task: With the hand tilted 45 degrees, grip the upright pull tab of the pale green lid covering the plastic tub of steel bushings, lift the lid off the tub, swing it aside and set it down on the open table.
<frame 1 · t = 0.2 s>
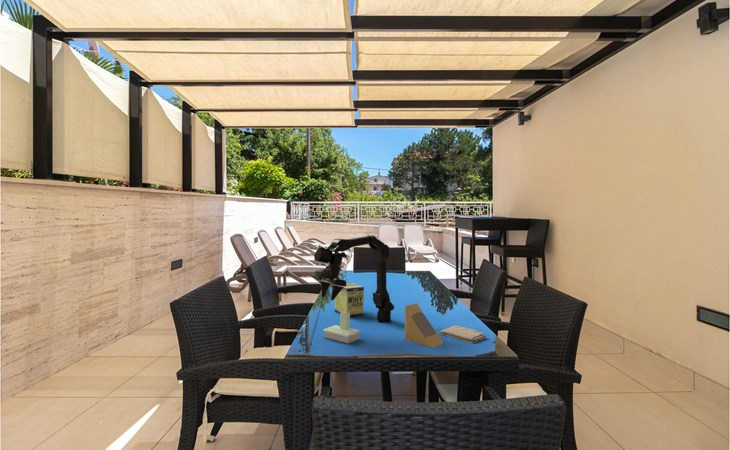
hand: (327, 298, 178), 15 cm above the table, tool pointing down, fingers open, 9 cm apart
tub: (341, 338, 169), on the table
washcloth: (462, 337, 175), on the table
protein box: (348, 313, 213), on the table
lid: (341, 331, 169), point 3 cm above the table, touching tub
sandwich container: (424, 342, 167), on the table
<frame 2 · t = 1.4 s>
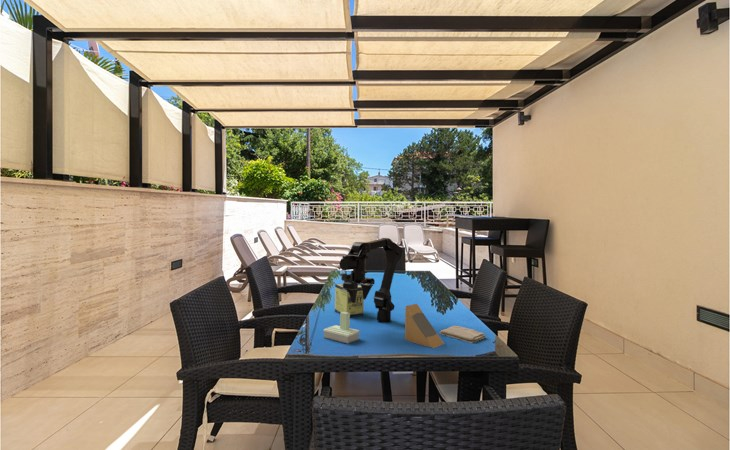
hand: (358, 301, 185), 13 cm above the table, tool pointing down, fingers open, 9 cm apart
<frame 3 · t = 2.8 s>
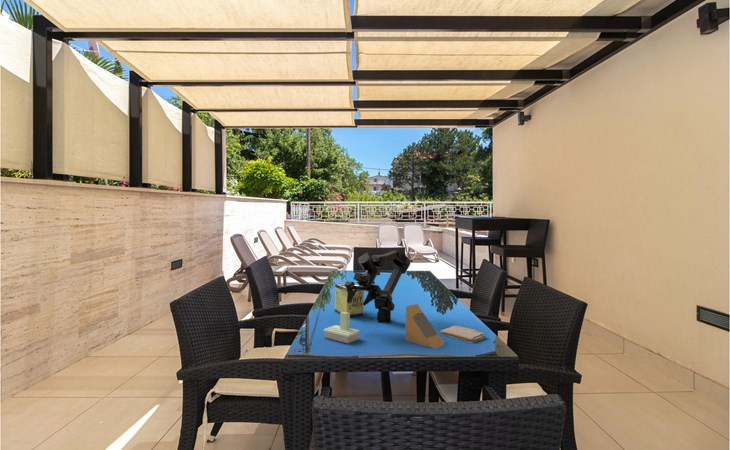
hand: (355, 303, 177), 13 cm above the table, tool tilted 45°, fingers open, 9 cm apart
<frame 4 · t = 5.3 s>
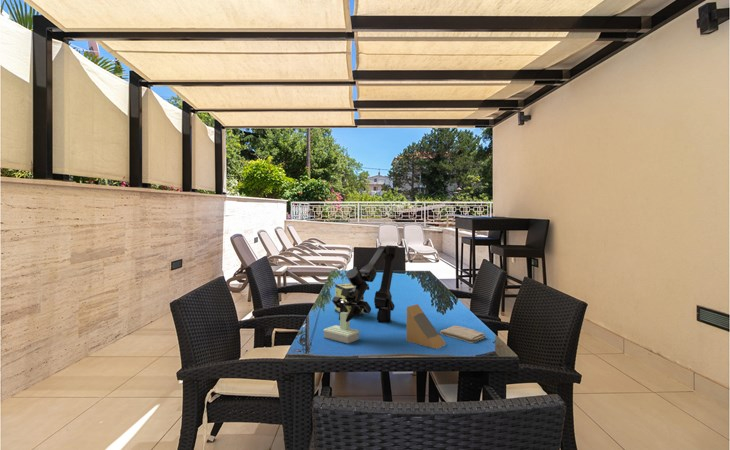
hand: (342, 320, 169), 8 cm above the table, tool tilted 45°, fingers closed on lid, 3 cm apart
lid: (341, 331, 169), point 3 cm above the table, touching gripper, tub
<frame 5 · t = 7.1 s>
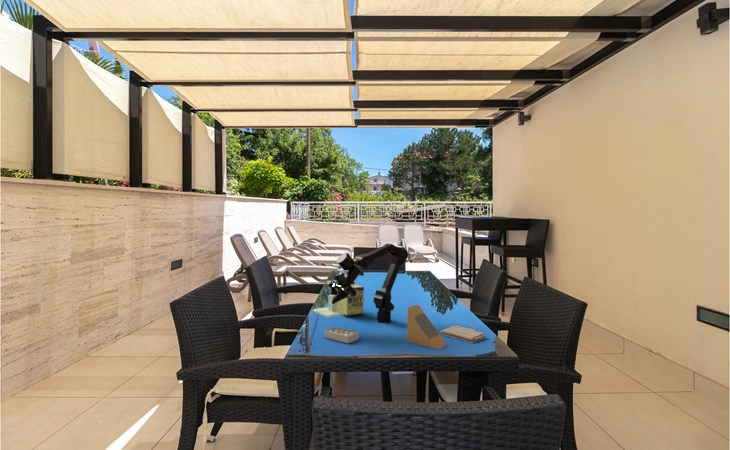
hand: (330, 302, 178), 13 cm above the table, tool tilted 45°, fingers closed on lid, 3 cm apart
lid: (328, 312, 178), point 9 cm above the table, touching gripper
when the fingers open (7 cm above the table, at t = 9.0 s): lid drops 3 cm, on the table.
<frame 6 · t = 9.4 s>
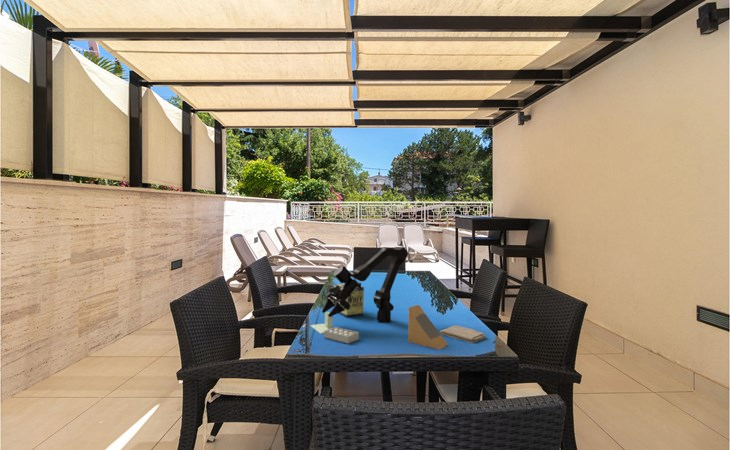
hand: (325, 314, 183), 7 cm above the table, tool tilted 45°, fingers open, 8 cm apart
lid: (323, 329, 183), on the table
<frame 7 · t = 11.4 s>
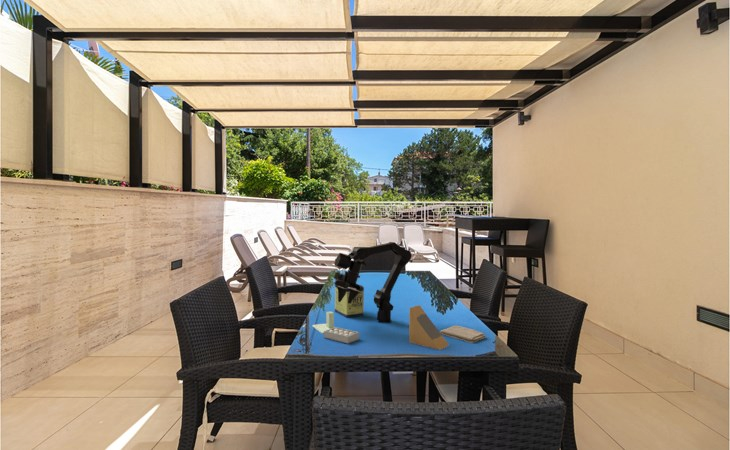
hand: (344, 302, 189), 11 cm above the table, tool tilted 20°, fingers open, 9 cm apart
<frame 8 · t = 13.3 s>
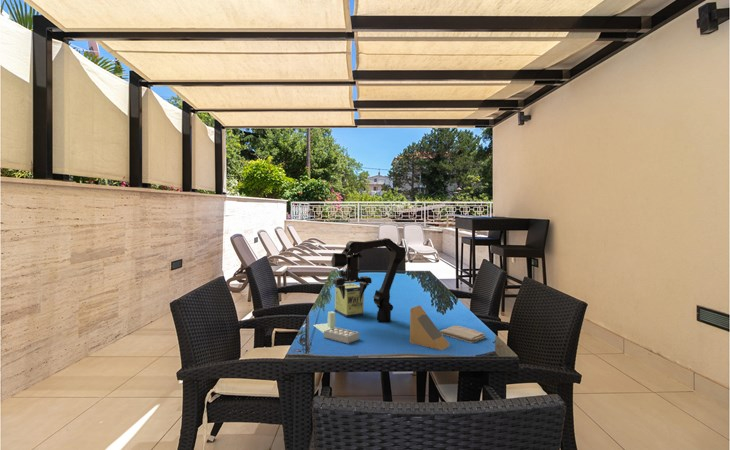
hand: (352, 298, 191), 13 cm above the table, tool pointing down, fingers open, 9 cm apart
at the end: lid inside the target area (2.2 cm from its centre), on the table; lid on the table; the gripper is holding nothing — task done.
